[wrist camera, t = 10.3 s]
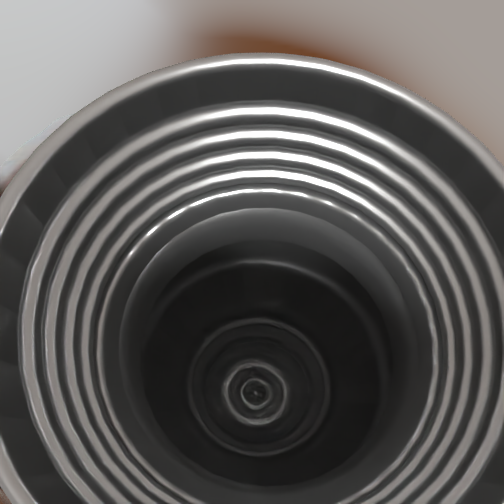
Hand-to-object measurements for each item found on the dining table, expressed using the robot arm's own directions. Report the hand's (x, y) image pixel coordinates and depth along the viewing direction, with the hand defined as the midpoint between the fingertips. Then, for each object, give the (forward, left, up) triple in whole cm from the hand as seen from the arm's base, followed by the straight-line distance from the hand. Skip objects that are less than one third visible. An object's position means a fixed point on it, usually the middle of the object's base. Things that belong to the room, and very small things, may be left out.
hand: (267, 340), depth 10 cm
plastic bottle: (-2, -1, -11) cm, 11 cm away
